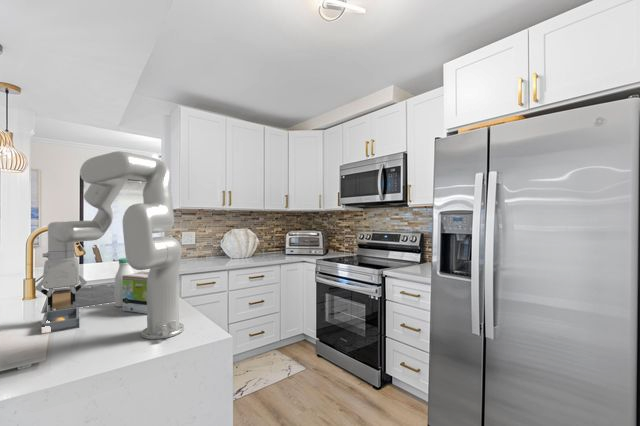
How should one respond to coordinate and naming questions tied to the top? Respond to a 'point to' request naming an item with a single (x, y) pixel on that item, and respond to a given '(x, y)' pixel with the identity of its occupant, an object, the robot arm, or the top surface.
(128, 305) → the tea box
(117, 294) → the milk bottle
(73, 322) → the tray
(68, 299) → the brown wooden cube
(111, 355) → the top surface
